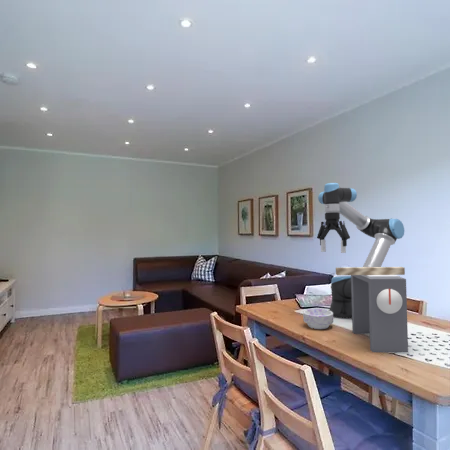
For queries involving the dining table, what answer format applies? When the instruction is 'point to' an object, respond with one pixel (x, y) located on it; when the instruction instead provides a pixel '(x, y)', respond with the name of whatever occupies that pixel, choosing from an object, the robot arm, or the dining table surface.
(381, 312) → the scale shelf
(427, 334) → the dining table surface
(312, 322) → the paper bowls
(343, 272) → the beech bar
